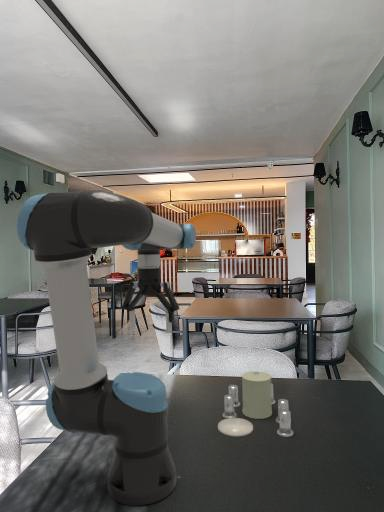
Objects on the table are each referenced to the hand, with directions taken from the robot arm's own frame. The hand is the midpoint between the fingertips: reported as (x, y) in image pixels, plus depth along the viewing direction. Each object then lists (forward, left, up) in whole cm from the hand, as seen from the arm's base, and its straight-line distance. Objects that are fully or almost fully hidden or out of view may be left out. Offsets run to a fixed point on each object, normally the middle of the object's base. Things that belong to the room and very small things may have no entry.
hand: (150, 331), depth 126 cm
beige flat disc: (-21, -24, -25) cm, 40 cm away
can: (-12, -33, -25) cm, 43 cm away
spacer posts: (-16, -31, -25) cm, 43 cm away
